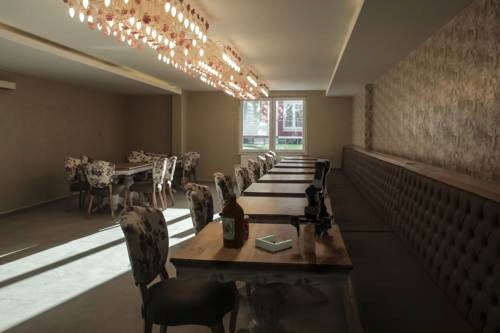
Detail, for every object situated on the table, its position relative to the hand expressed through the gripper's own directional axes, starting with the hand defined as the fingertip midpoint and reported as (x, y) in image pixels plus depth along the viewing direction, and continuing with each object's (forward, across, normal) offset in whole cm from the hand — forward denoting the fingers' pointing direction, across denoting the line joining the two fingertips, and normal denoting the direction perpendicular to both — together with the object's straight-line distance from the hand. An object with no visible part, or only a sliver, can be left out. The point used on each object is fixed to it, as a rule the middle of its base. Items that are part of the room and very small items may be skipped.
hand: (308, 238), depth 173 cm
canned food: (-5, -37, +14) cm, 40 cm away
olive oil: (+6, -36, +4) cm, 36 cm away
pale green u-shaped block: (+1, -17, +8) cm, 19 cm away
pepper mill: (+4, 0, +6) cm, 7 cm away
